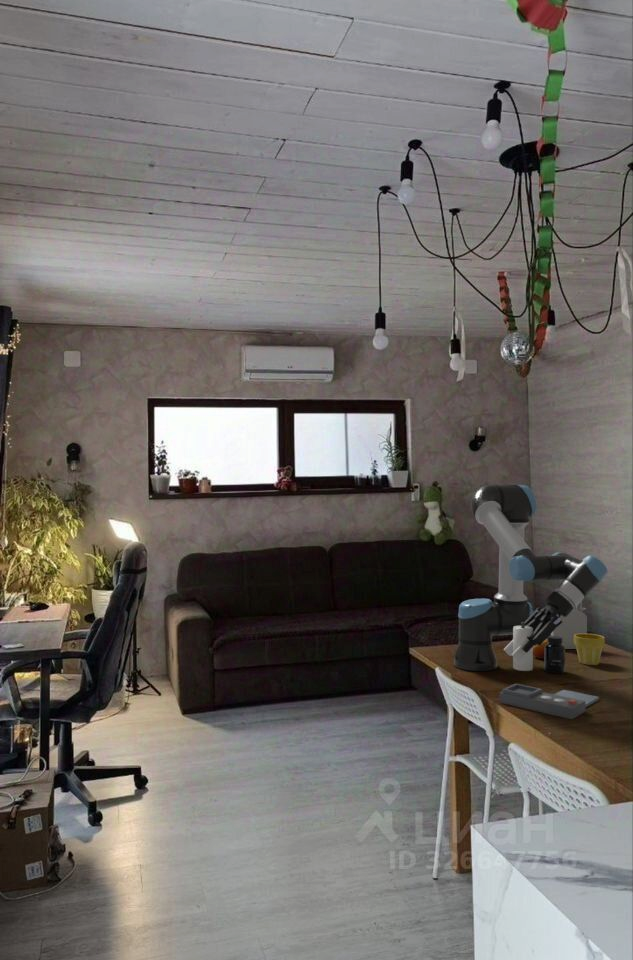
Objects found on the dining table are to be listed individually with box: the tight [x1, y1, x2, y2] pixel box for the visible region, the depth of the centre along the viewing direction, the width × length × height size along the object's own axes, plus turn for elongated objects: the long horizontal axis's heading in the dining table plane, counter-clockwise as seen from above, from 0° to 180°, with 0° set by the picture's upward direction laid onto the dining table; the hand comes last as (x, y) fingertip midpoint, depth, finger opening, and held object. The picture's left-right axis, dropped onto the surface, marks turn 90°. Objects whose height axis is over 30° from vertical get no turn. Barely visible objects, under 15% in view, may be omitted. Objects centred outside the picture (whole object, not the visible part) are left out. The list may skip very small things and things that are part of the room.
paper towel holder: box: [512, 622, 534, 672], centre depth 208 cm, size 6×6×14 cm
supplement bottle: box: [543, 635, 566, 675], centre depth 243 cm, size 7×7×12 cm
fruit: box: [533, 639, 548, 660], centre depth 262 cm, size 8×8×8 cm
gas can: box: [550, 598, 588, 651], centre depth 277 cm, size 15×5×25 cm, turn 83°
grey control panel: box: [498, 683, 586, 720], centre depth 204 cm, size 22×9×4 cm, turn 47°
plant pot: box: [574, 633, 606, 666], centre depth 255 cm, size 10×10×10 cm
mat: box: [553, 689, 600, 708], centre depth 211 cm, size 11×11×1 cm
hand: (510, 655), depth 207 cm, fingers closed on paper towel holder, 5 cm apart
